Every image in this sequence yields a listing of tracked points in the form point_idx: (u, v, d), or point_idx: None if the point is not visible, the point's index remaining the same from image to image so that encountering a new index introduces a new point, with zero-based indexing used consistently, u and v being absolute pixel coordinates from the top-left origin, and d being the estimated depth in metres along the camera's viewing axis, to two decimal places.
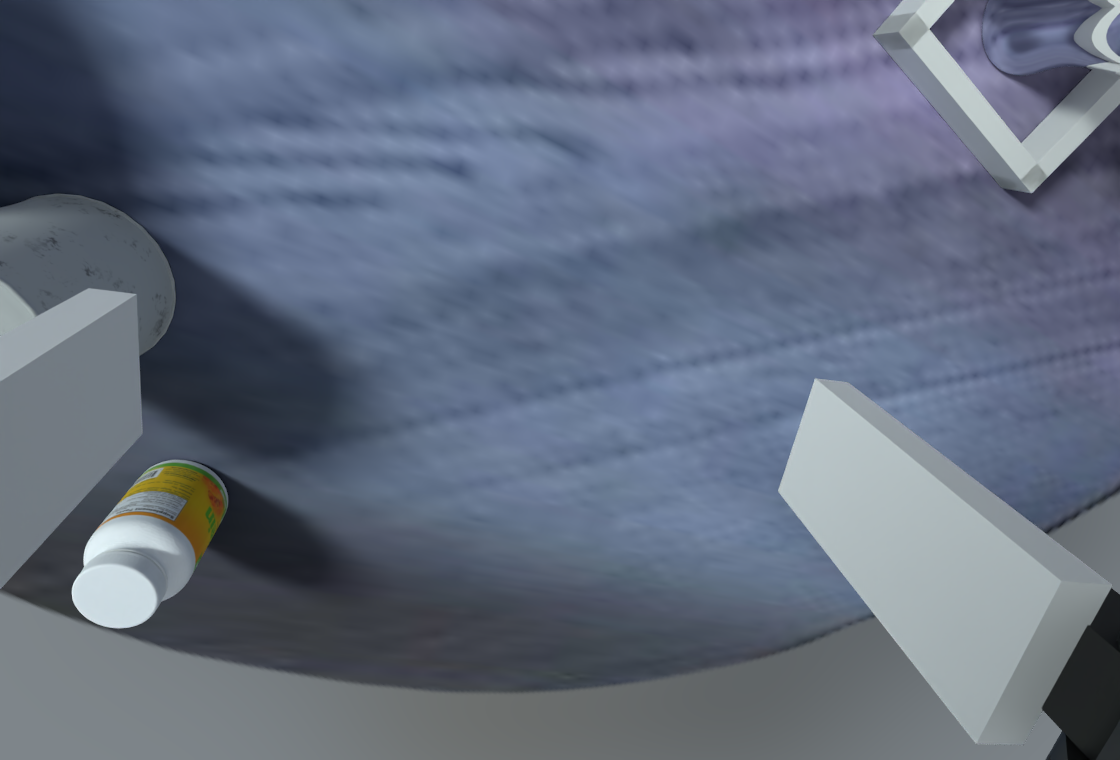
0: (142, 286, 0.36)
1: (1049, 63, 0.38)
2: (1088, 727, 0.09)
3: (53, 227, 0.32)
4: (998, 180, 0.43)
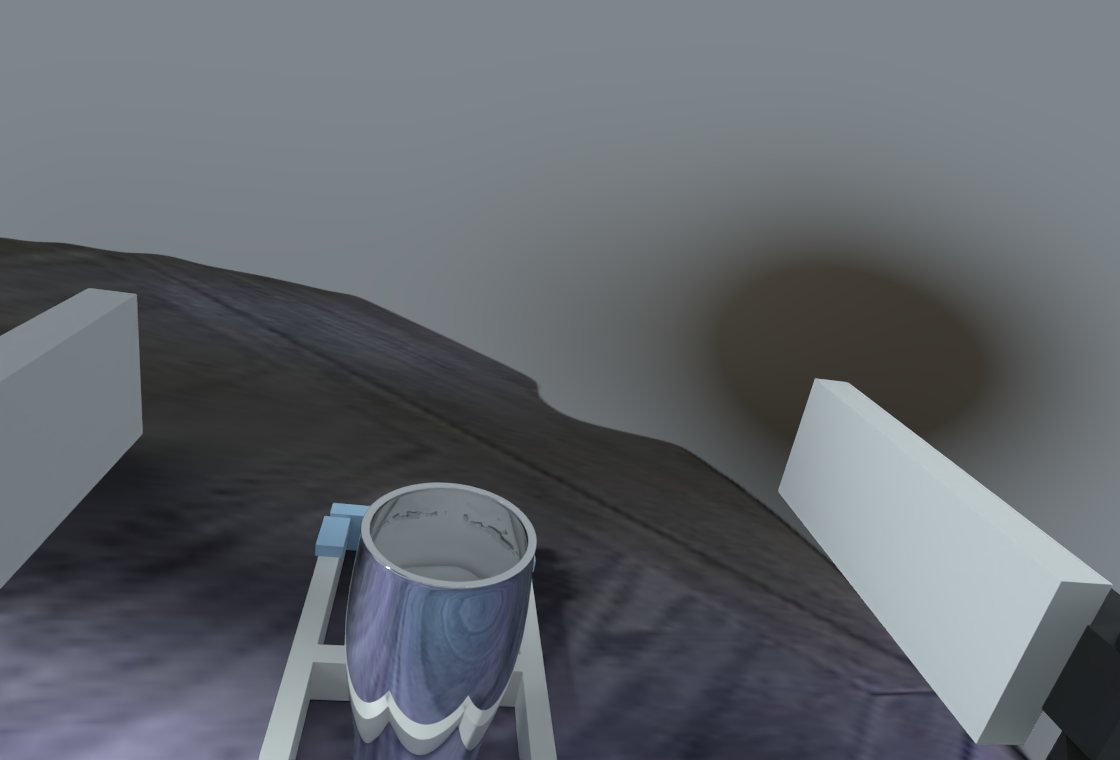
0: None
1: None
2: (1088, 728, 0.09)
3: None
4: None
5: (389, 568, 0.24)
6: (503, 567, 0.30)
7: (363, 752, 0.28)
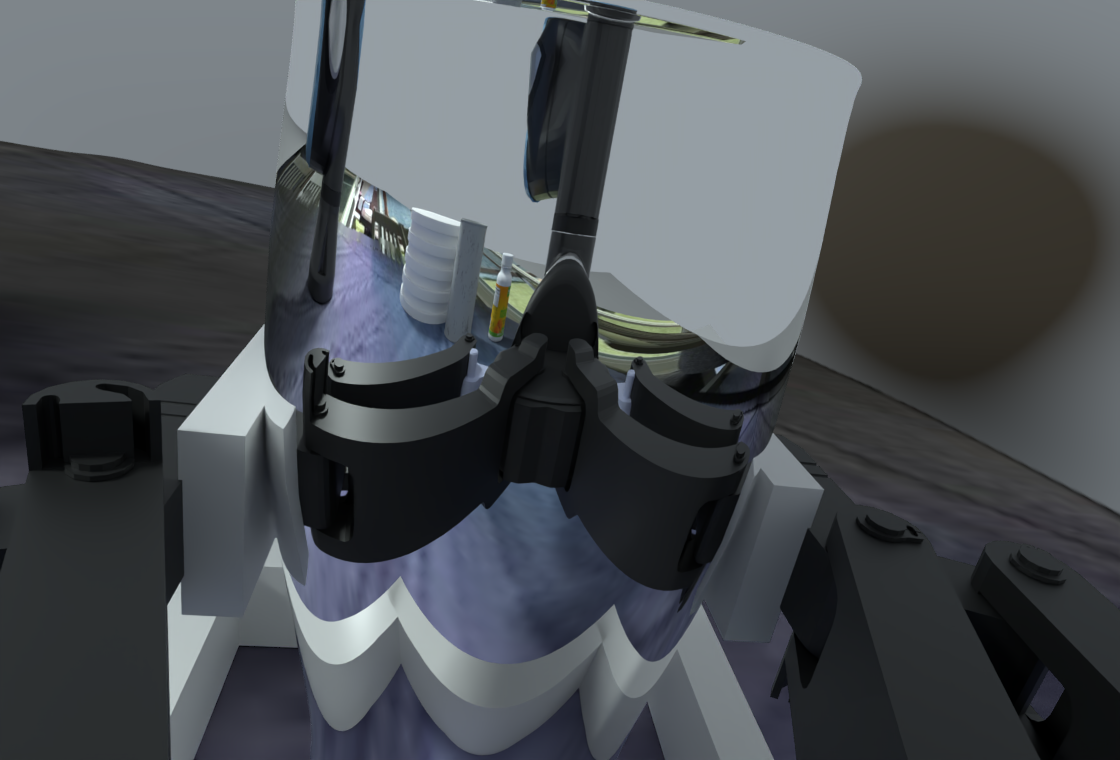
0: None
1: None
2: (811, 628, 0.10)
3: None
4: None
5: None
6: None
7: (327, 736, 0.10)
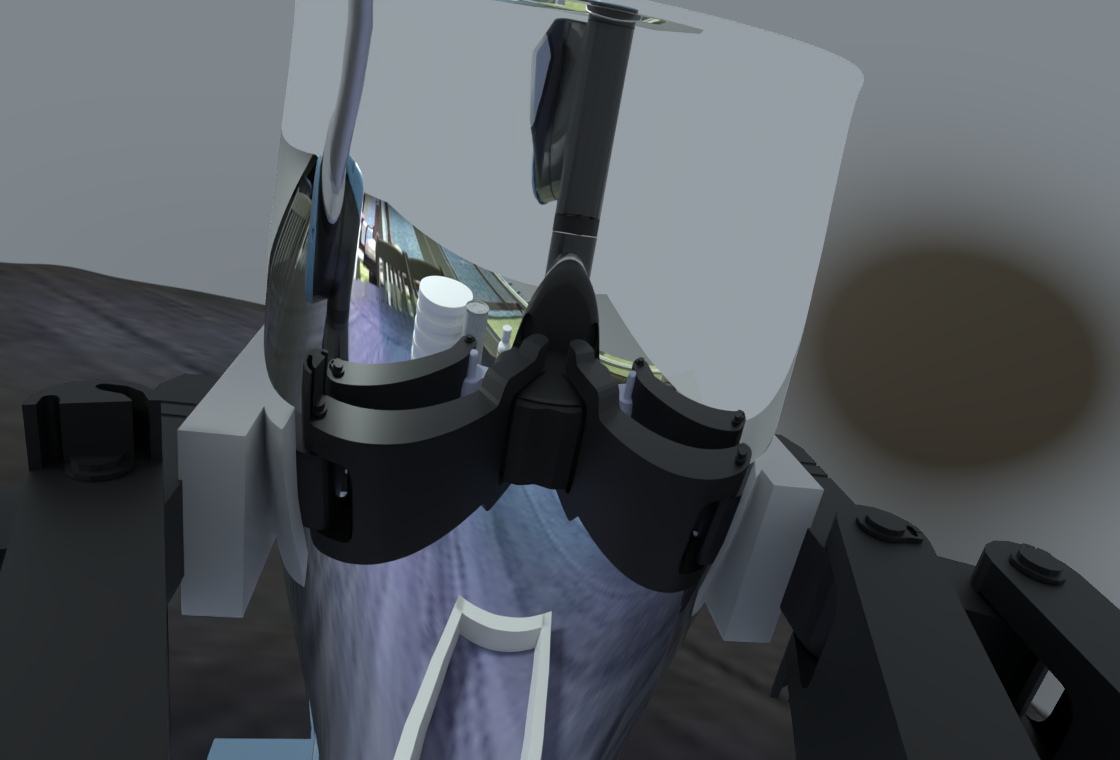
0: None
1: None
2: (811, 628, 0.10)
3: None
4: None
5: None
6: None
7: (327, 738, 0.10)
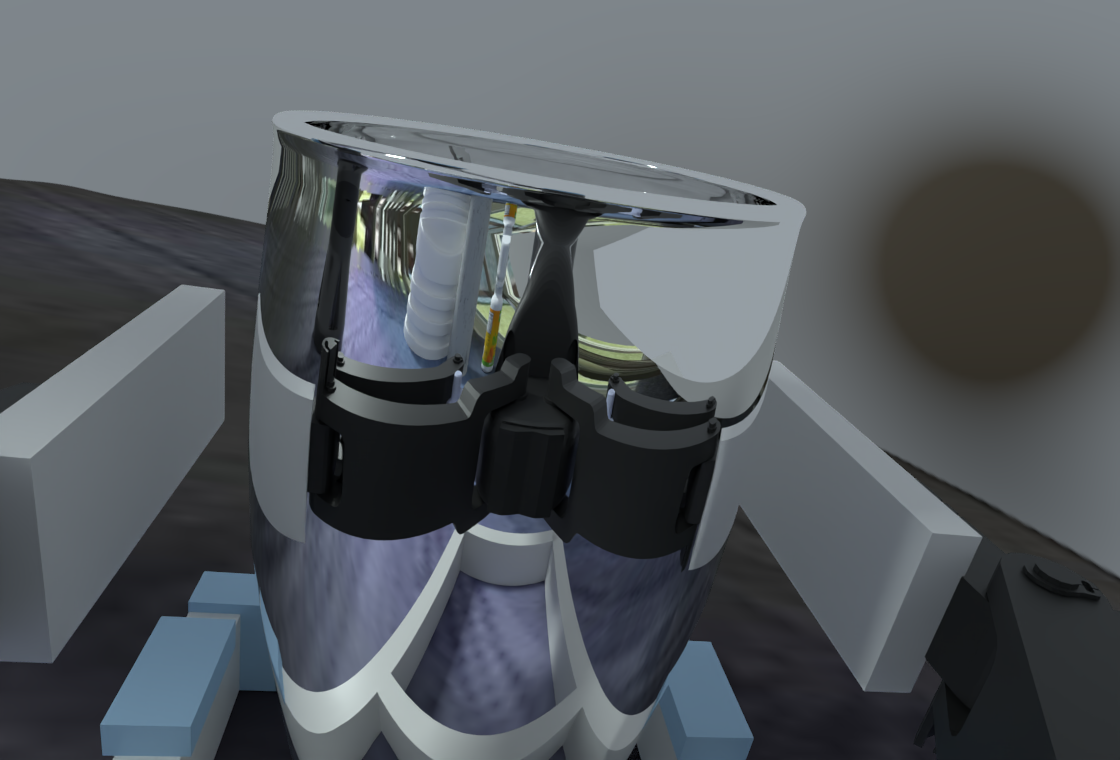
0: None
1: None
2: (964, 676, 0.09)
3: None
4: None
5: (356, 144, 0.06)
6: None
7: None
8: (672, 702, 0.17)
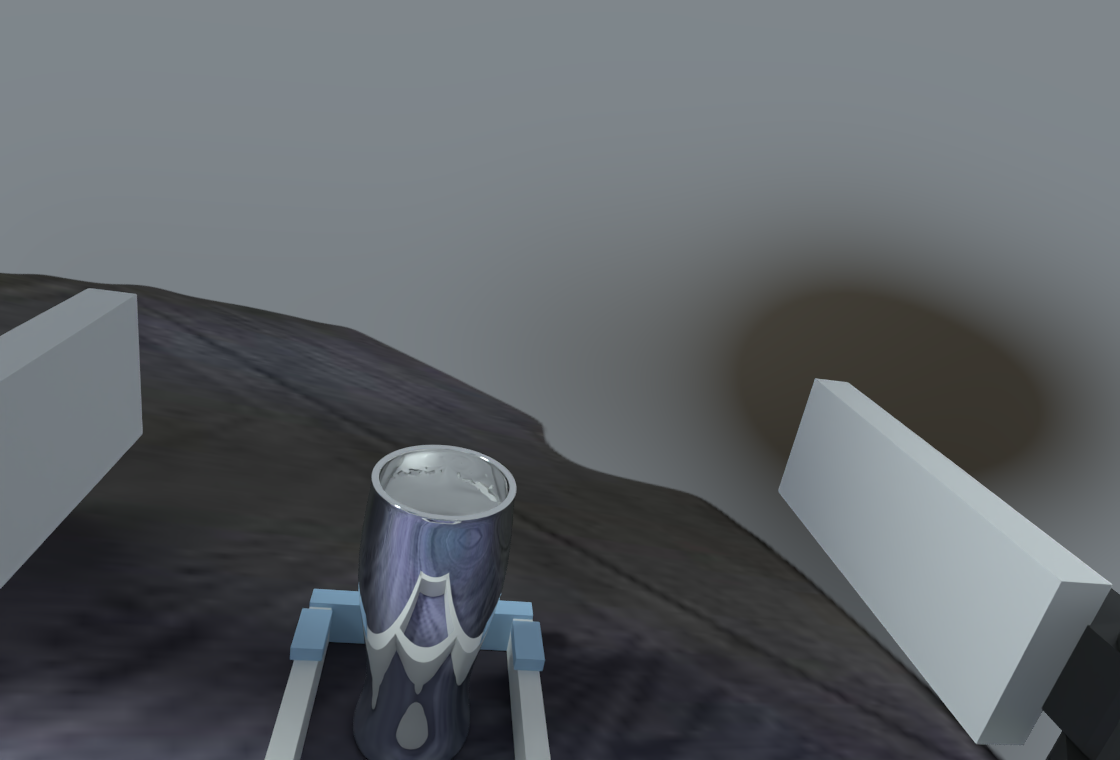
0: None
1: (434, 716, 0.34)
2: (1088, 727, 0.09)
3: None
4: None
5: (394, 505, 0.29)
6: None
7: (374, 669, 0.33)
8: (514, 646, 0.40)
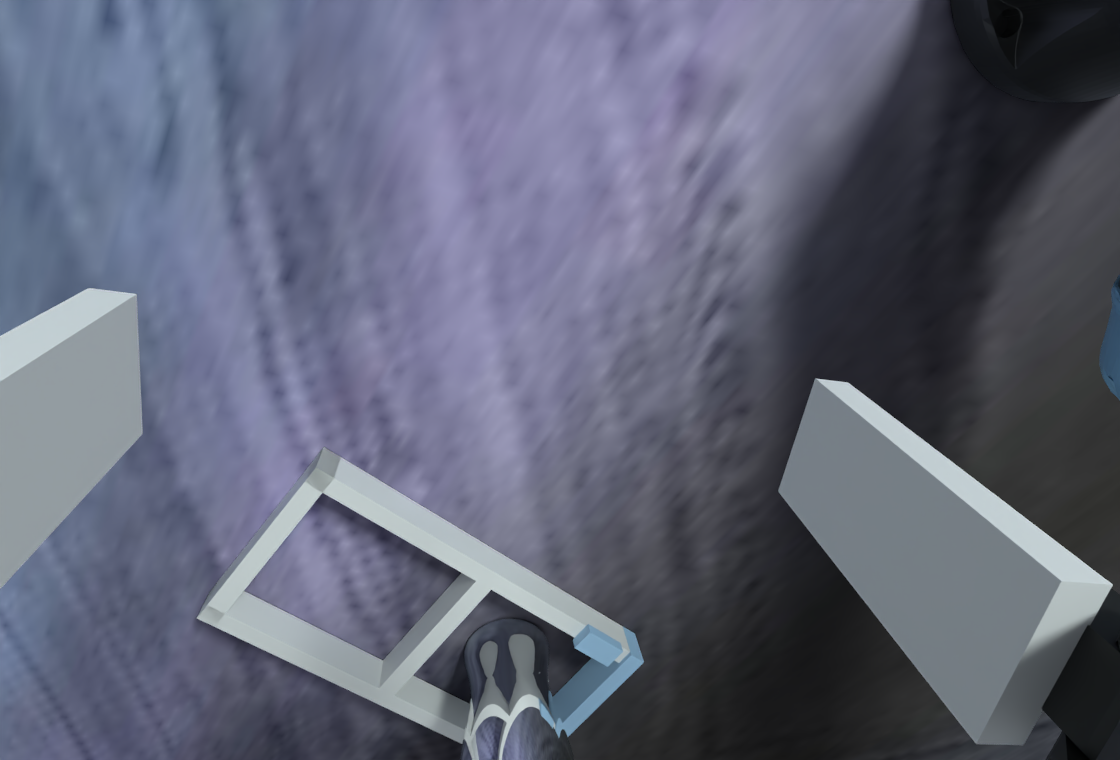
0: None
1: (471, 680, 0.47)
2: (1088, 727, 0.09)
3: None
4: (214, 586, 0.45)
5: None
6: None
7: (511, 679, 0.45)
8: None
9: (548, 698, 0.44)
